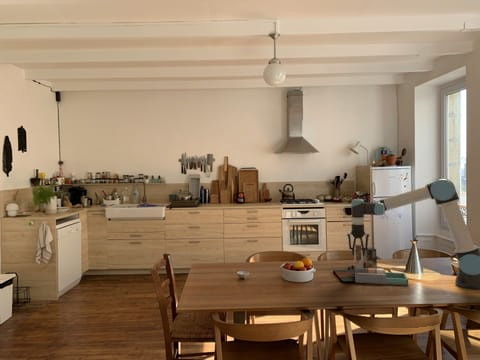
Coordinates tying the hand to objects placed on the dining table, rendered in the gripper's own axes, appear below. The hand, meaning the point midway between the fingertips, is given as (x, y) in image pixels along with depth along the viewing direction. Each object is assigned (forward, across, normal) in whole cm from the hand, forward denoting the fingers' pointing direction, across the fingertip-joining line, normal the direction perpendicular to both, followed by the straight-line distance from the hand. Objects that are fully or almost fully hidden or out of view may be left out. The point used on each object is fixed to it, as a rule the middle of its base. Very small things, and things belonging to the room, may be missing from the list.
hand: (358, 260), depth 229 cm
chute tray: (+12, -22, 0) cm, 25 cm away
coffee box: (+12, -7, -19) cm, 23 cm away
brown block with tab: (+2, 0, 0) cm, 2 cm away
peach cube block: (+9, -8, 0) cm, 12 cm away
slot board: (+12, -7, 0) cm, 14 cm away
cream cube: (+9, -13, 0) cm, 16 cm away
